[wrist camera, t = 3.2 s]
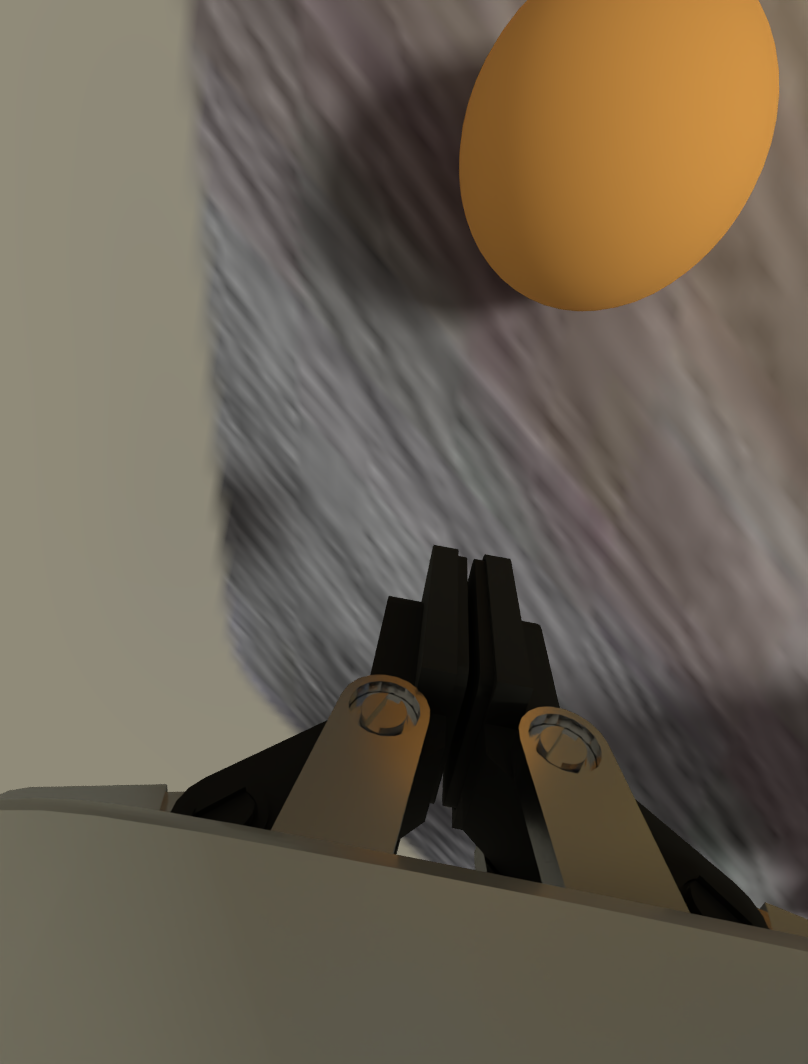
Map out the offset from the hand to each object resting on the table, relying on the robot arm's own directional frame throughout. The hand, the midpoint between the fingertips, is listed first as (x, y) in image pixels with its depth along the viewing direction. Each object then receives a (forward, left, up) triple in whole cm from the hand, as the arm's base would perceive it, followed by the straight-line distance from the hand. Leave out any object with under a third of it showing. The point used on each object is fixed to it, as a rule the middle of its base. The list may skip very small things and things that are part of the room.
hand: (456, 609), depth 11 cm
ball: (+9, -2, -4) cm, 10 cm away
